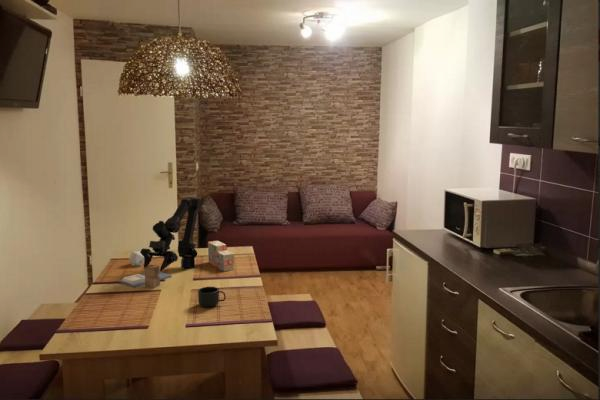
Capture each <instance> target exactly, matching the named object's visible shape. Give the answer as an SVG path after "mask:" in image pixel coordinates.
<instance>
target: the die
mask: <svg viewBox="0 0 600 400" xmlns="http://www.w3.org/2000/svg"><path fill="white" fill-rule="evenodd" d="M140 252H141V250H140V251H139V250H137V251H132V252H131V253H130V255H129V258H128V260H129V262H130V264H131V266H132V267H142V266H143V265H144V256H143V255H142V254H141V253H140Z"/></svg>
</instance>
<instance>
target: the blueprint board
mask: <svg viewBox="0 0 600 400" xmlns="http://www.w3.org/2000/svg"><path fill="white" fill-rule="evenodd" d="M159 272H160V281H162V280H166V279H170V278H173V276H172V275H171V274H169V273H165V272H162V271H159ZM118 283H121V284H123V285H126V286H129V287H132V288H138V287H141V286H144V285H145V272H144V273H141V274H138V273H136V274H132V275H129V276H128V275H127V276H125V277H122V279H119V280H118Z"/></svg>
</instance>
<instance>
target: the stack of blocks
mask: <svg viewBox="0 0 600 400" xmlns="http://www.w3.org/2000/svg"><path fill="white" fill-rule="evenodd" d="M207 250H208V251H207V252H208V254H207V255H208V263H209V264H210V265H212V266H213V267H216V268H218V269H219V270H220V271H222V272H229V271H233V270H234V268H235V267H234V266H235V265H234V262H235V261H234V257H235V254H234V253H233V252H231V251H230V250H228V246H227V244H225V243H224V242H221V241H219V240H213V241H212V240H211V241H208V242H207Z"/></svg>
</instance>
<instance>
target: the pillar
mask: <svg viewBox="0 0 600 400" xmlns="http://www.w3.org/2000/svg"><path fill="white" fill-rule="evenodd" d="M143 269H144V273H145V288H148V289H155V288H157V287H159V286H161V280H160V272H161V271H160V265H156V264H149V265H148V266H146V267H144V266H143Z"/></svg>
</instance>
